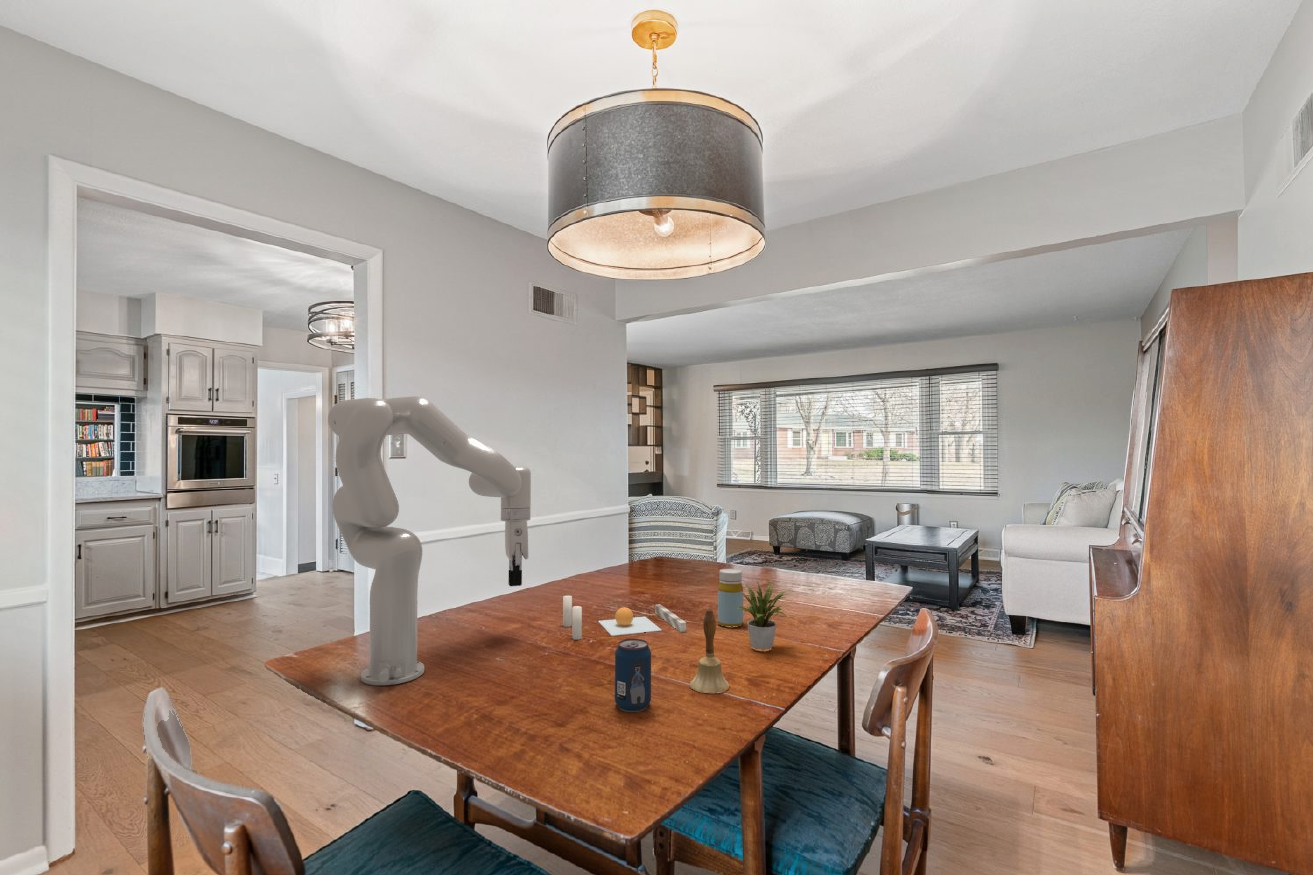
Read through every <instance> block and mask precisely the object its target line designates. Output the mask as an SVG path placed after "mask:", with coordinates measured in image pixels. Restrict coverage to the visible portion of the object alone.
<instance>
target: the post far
mask: <svg viewBox="0 0 1313 875" xmlns="http://www.w3.org/2000/svg"><path fill="white" fill-rule="evenodd" d="M572 607H573V595H563V596H562V626H563V627H564V628H569V627H572Z"/></svg>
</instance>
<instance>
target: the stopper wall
mask: <svg viewBox="0 0 1313 875" xmlns="http://www.w3.org/2000/svg"><path fill="white" fill-rule="evenodd" d="M654 613H655V614H656V616H658V617H659V618H661V619H662V620H663V619H664V620H663V621H665V622H666V623H667V624H669V625H670V626H671V625H672V626H671V627H673V628H674V629H675V628H676V629H675V630H677V631H678V632H679V633H687V622H686V621H684V620H683V619H682V618H681V617H679V616H677V615H676V614H675V613H674V612H673V611H671V610H670V609H668V608H666V607H665V606H663V605H662V604H660V603H658V604H655V605H654Z"/></svg>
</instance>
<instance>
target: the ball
mask: <svg viewBox="0 0 1313 875" xmlns="http://www.w3.org/2000/svg"><path fill="white" fill-rule="evenodd" d="M614 617H615V618H614V619H616V622H617V623H618V624H619V625H621V626H628V625H629V624H630V623H631V622H632V620H633V618H634V614H633V611H632V610H631V609H630V608H628V607H624V606H623V607H620V608H618V609H617V611H616V612H615V614H614Z"/></svg>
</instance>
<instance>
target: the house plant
mask: <svg viewBox="0 0 1313 875" xmlns="http://www.w3.org/2000/svg"><path fill="white" fill-rule="evenodd" d="M756 582H757V587H758V590H755V592H756V594H757V595H756V594H755V592H754V590H753V589H752V588H751V587H750V586H749V585H747V584H745V586H746V589H747V591H748V593H749V596H748V595H746V593H744V592H743V593H742V592H741V591H740V592H741V593H742V594H743V598H745V599H746V600H747V601H748V604H749V605H750V606H746V607H745V606H743V607H738V608H737V609H743V611H746V612H748V613H750V614H751V615H752V617H753V619H751V620H748V621H747V629H748V630H747V631H748V637H749V642H750V647H751V646H752V647H753V648H755V649H761V650H765V649H770V648H772V647H774V641H775V638H776V637H775V636H776V630H777V623H776V622H775V621H773V620H771V619H774V618H775V617H776V616H777V615H778V614H781V615H784V616H786V614H785V612H784V611H782V610H783V609H781V607H782V606H784V604H780V605H777V606H776V603H777V602H779V601H780V600H781V599H785V598H786V595H789V594H787V592H788V593H789V592H791V591H792V589H791V590H790V589H788V590H786V591H785V590H784V591H782V592H781V593H779V594H777V595H776V596H775V597H774V598H773V599H771V597H772V595H773V592H772V591H773V589H774V585H771V582H769V584H768V586H767V588H766V590H765V592H764V595H763V591H762V588H761V585H760V583H759V582H758V581H756ZM780 602H781V601H780ZM787 605H788V604H785V606H787ZM775 613H776V614H775ZM773 614H775V615H774V616H773ZM772 616H773V617H772ZM771 617H772V618H771Z"/></svg>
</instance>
